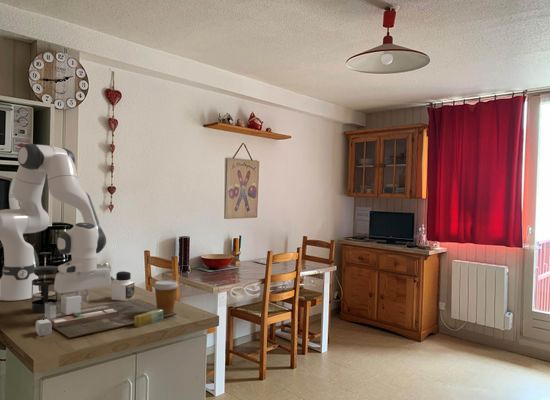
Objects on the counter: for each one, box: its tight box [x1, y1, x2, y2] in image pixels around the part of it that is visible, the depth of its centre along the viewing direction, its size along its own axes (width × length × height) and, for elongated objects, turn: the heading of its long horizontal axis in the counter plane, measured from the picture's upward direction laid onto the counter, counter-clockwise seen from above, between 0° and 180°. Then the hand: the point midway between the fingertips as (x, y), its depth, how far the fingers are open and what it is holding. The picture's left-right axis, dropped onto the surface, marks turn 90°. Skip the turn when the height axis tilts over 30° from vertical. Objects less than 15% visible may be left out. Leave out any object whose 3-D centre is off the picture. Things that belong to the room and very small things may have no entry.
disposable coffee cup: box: [153, 279, 179, 315], centre depth 167 cm, size 10×10×12 cm
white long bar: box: [44, 302, 107, 320], centre depth 157 cm, size 6×21×5 cm, turn 135°
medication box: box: [133, 308, 165, 328], centre depth 153 cm, size 12×3×4 cm, turn 147°
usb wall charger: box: [35, 319, 53, 337], centre depth 138 cm, size 4×7×4 cm, turn 41°
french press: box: [30, 251, 64, 314], centre depth 165 cm, size 12×9×23 cm
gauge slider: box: [60, 292, 82, 317], centre depth 154 cm, size 10×5×6 cm, turn 45°
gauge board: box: [42, 304, 120, 329], centre depth 157 cm, size 13×23×2 cm, turn 135°
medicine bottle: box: [110, 270, 135, 302], centre depth 185 cm, size 7×7×12 cm
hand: (83, 301), depth 158 cm, fingers closed
